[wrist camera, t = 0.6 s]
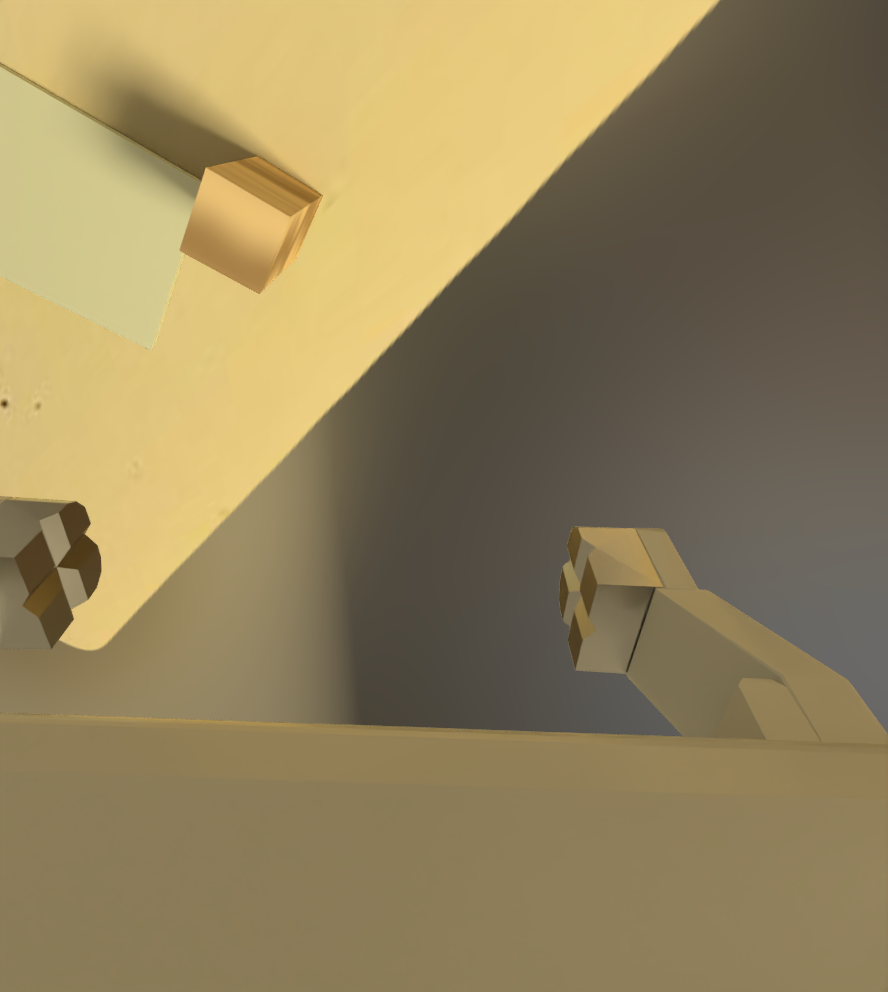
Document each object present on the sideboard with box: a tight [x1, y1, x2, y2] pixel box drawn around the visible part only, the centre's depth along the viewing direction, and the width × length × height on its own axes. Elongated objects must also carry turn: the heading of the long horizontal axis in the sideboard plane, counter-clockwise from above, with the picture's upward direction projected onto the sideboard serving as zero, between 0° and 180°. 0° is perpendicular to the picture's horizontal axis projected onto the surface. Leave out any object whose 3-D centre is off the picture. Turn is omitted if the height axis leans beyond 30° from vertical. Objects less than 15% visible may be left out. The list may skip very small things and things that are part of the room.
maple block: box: [179, 156, 323, 294], centre depth 39 cm, size 5×5×11 cm
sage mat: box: [0, 64, 202, 350], centre depth 44 cm, size 14×14×1 cm
